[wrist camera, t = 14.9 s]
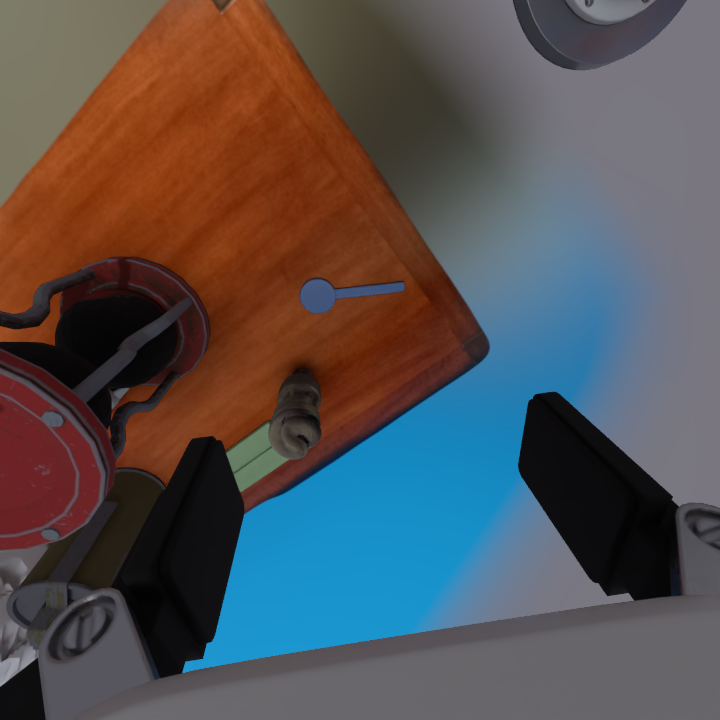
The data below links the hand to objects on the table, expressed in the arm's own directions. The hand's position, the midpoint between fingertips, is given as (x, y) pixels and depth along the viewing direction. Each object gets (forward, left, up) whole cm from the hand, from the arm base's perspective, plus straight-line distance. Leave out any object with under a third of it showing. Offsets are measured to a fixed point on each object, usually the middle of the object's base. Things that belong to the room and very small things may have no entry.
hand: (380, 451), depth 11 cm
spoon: (-1, +5, -35) cm, 35 cm away
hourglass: (+25, +6, -35) cm, 43 cm away
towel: (+16, +29, -35) cm, 48 cm away
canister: (+36, +33, -35) cm, 60 cm away
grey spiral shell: (+7, +16, -35) cm, 39 cm away
